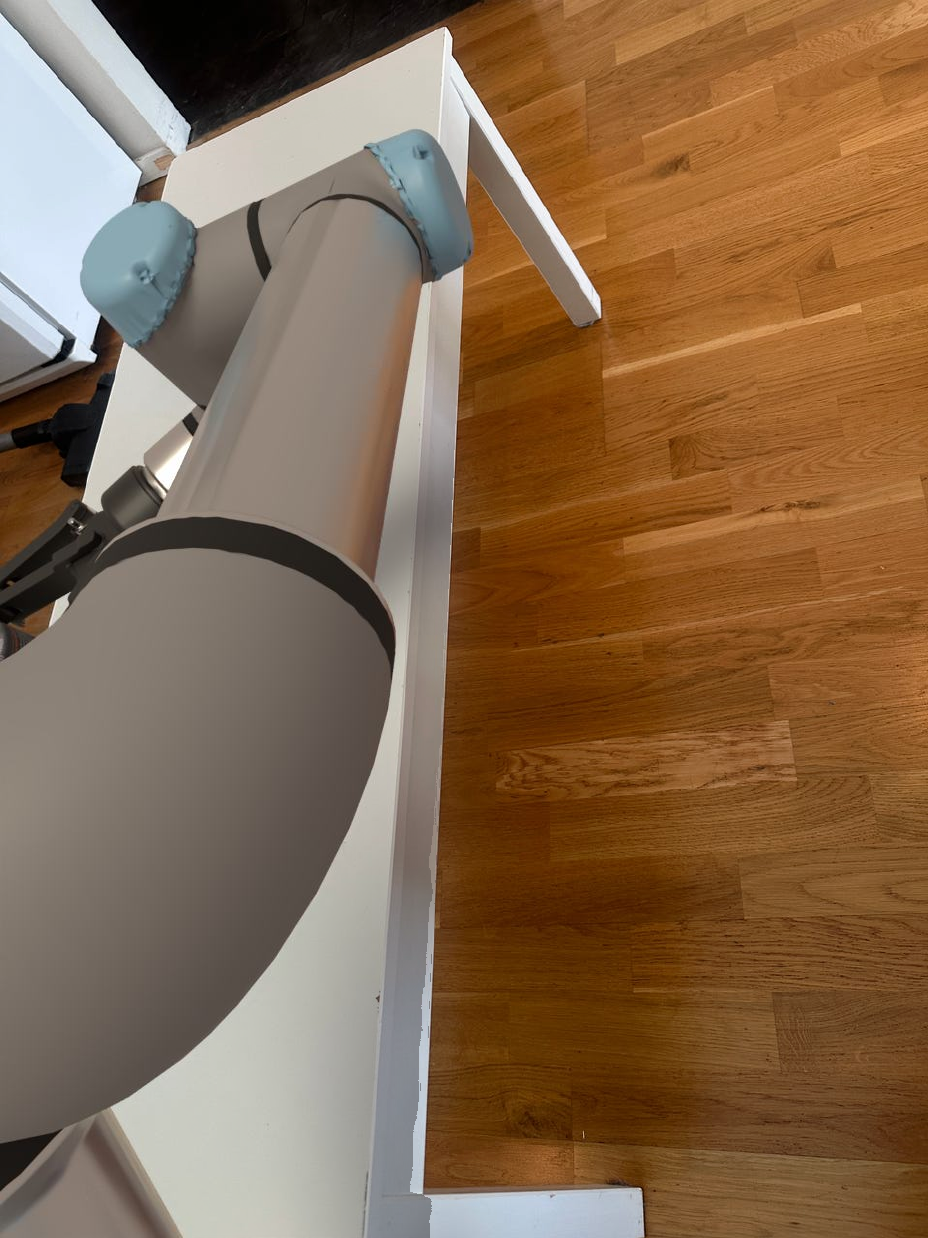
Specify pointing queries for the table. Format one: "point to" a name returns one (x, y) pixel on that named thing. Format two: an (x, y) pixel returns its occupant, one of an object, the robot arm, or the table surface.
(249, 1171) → the table surface
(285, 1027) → the table surface
